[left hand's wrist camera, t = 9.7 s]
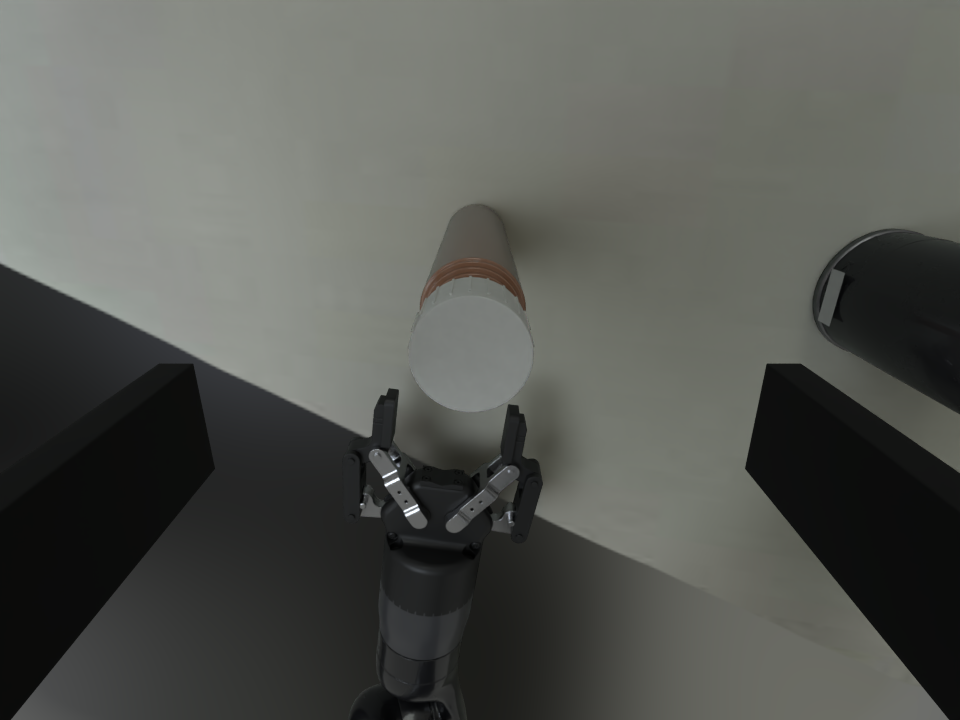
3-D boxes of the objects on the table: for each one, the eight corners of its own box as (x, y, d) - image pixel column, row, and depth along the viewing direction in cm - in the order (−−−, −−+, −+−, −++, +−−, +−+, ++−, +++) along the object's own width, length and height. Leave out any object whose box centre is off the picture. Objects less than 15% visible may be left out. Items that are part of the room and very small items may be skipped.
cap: (518, 388, 20) (524, 421, 18) (410, 375, 20) (401, 406, 18) (537, 283, 19) (545, 303, 17) (420, 267, 19) (412, 285, 16)
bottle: (500, 266, 41) (525, 418, 18) (443, 259, 40) (399, 403, 18) (509, 208, 39) (548, 296, 17) (450, 200, 39) (410, 279, 17)
